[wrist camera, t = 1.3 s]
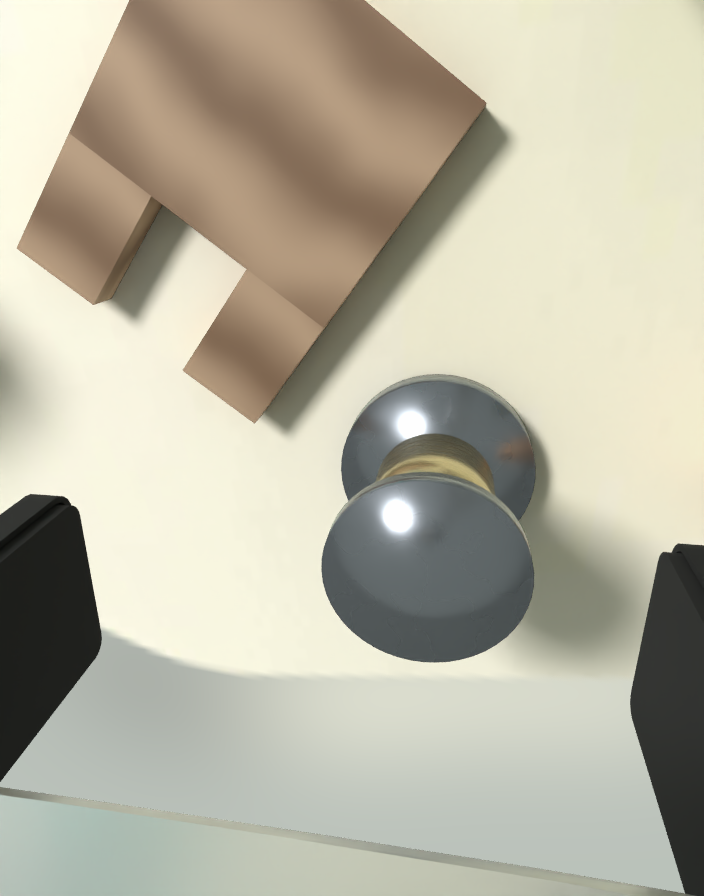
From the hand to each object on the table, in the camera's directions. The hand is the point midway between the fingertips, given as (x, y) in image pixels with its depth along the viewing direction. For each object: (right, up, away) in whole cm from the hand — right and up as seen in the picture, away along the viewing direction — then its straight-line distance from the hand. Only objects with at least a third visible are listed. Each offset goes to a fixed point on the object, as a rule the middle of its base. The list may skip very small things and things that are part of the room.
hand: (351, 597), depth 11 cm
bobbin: (+5, +1, +28) cm, 29 cm away
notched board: (-6, +16, +24) cm, 30 cm away
